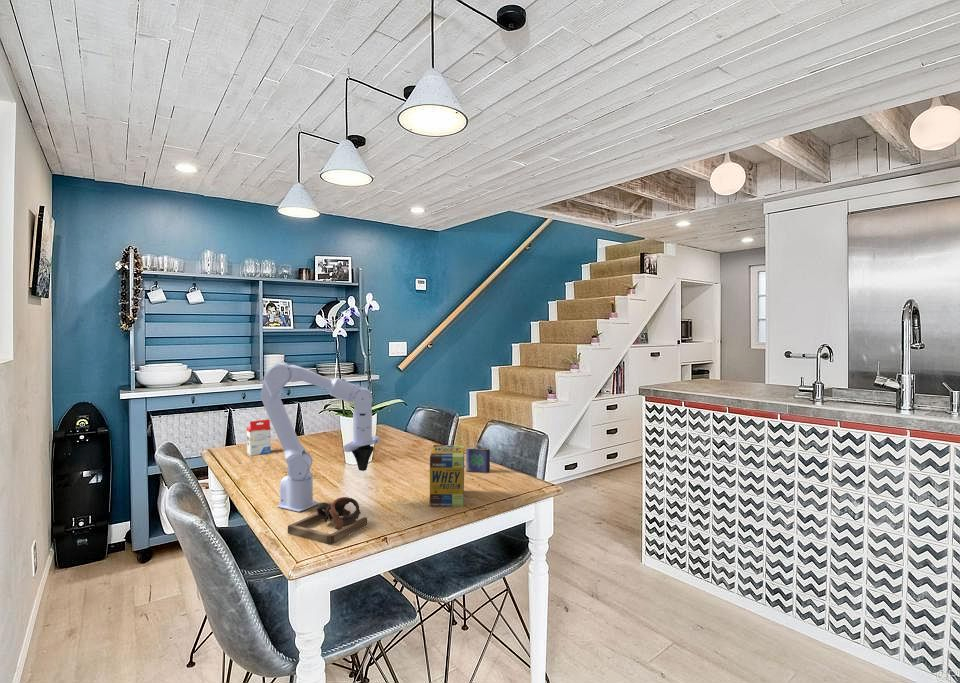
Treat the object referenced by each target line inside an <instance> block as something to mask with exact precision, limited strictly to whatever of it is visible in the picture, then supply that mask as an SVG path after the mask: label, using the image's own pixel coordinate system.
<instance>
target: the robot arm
mask: <svg viewBox="0 0 960 683" xmlns="http://www.w3.org/2000/svg"><path fill="white" fill-rule="evenodd" d="M289 382H290V383H298V382H305V383H307V384H311V385H313V386H317V387H319V388H322V389H324V390H327V392H328V393H329V395H330V396H331V397H333V398H336V399H339V400H341V401H344V402H346V403H353V413H352V423H353V424H352V441H350V442H349V443H346V444H344V445H343V452H345V453H352V455H353V457H354V458H355V461H356V465H357V469H358V471H361V472H364V471H367V468H368V464H369V461H370V458H371V455H372V454H373V452H374V450H375V446H373V445H375V444H379V443H380V441H381V438H380V436H377V435H375V436H373V412H372V404H373V401H374V398H373V395H372V392H371V391H370V389H368V388H366V387H365V386H361V385H360V384H359V383H357V384H354V383H352V382H349V381H347V379H346V378H344V377H341V378H339V377H336V378H334V379H330V378H328V377H326V376H323V375H321V374H319V373H316V372H314V371H311V370H310V369H307V368H304V367H302V366H299V365H295V364H290V363H288V362H284V361H281V362H278V363H275V364H273V365H271V366H270V367H269V368H267V371H266V372H265V374H264V375H263V382H262V386H261V390H260V391H261V392H260V399H261V401H262V404H263V406H264V408H265V411H266V414H267V415H268V418H269V420H270V422H271V424H272V427H273V429H274V431H275V434H276V435H277V437H278V440H279V443H280V445H281V447H282V449H283V451H284V457H285V462H286V464H287V467H286V468H287V469H286V473H287V475H285V476H284V477H282V479H281V481H280V483H279V504H277V505H276V506H277V508H281V509H285V510H290V511H293V512H298V513H300V512H303V511H305V510H308V509H310V508H312V507H315V506H318V505H319V504H320V502H319V501H315V500H314V495H313V494H314V492H313V491H314V487H313V486H314V485H313V484H314V483H313V481H314V477H313V473H312V472H311V467H312V465H313V458H312V456H311V455H310V453H308V452H307V451H306V450H305V448H304V446H303V445H302V443H301V442H300V440H299V438H298V435H297V432H296V431H295V429H294V426H293V424H292V422H291V420H290V417H289V415H288V413H287V410H286V408H285V406H284V403H283V401H282V399H281V394H282V392H283V390H284V388H285V386H286V385H287V383H289Z"/></svg>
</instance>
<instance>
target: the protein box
mask: <svg viewBox="0 0 960 683" xmlns="http://www.w3.org/2000/svg"><path fill="white" fill-rule="evenodd" d="M464 494H465V445H457V444H456V445H454V444H449V445H447V444H443V445H442V444H434V445H433V447H432V449H431V453H430V456H429V507H458V506H463V507H464V497H465V496H464Z"/></svg>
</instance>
